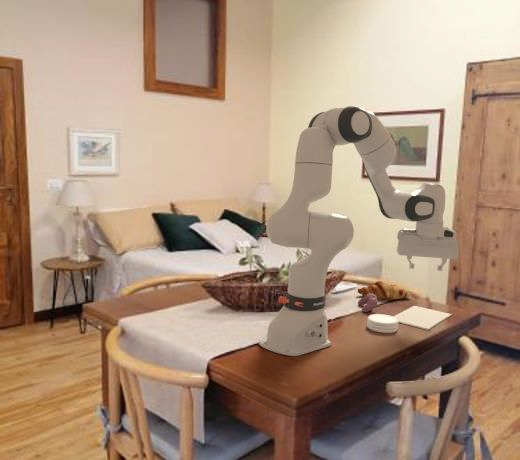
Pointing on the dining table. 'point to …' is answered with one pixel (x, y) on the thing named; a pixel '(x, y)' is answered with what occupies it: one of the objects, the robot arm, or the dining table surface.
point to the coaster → (382, 323)
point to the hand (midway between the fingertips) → (425, 269)
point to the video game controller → (368, 302)
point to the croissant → (384, 291)
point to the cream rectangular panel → (421, 317)
